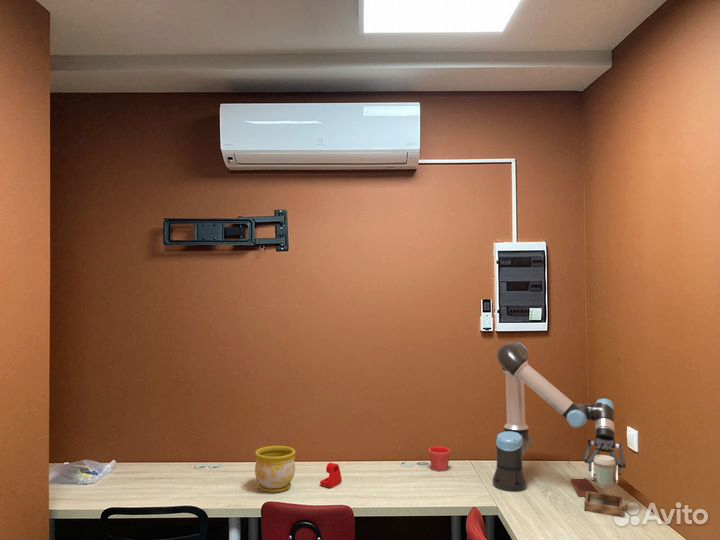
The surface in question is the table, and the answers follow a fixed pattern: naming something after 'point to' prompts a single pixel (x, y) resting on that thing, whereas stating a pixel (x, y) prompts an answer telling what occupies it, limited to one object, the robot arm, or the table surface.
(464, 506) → the table surface
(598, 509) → the wood rimmed frame
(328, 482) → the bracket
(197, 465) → the table surface
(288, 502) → the table surface
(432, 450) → the flower pot
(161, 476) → the table surface
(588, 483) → the wooden tablet
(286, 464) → the flowerpot
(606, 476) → the coffee cup
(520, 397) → the robot arm
